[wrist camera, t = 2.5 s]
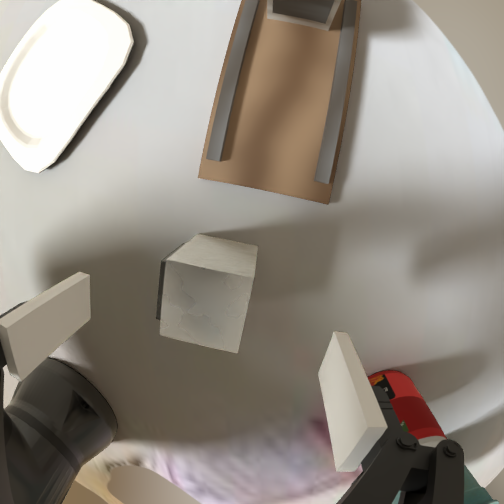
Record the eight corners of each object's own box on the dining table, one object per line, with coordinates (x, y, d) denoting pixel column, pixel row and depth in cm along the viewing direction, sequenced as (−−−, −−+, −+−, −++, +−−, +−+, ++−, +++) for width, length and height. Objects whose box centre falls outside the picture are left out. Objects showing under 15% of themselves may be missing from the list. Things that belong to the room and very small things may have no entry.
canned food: (371, 360, 26) (410, 439, 15) (423, 375, 26) (466, 441, 16) (332, 412, 28) (351, 491, 17) (386, 422, 28) (412, 490, 18)
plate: (72, -9, 18) (65, -15, 16) (161, 42, 20) (155, 35, 18) (-12, 110, 21) (-21, 109, 20) (48, 193, 24) (38, 194, 22)
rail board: (201, 177, 23) (161, 177, 14) (251, -20, 18) (244, -83, 9) (325, 203, 23) (361, 218, 14) (358, 2, 18) (389, -53, 9)
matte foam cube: (258, 246, 24) (254, 278, 16) (246, 302, 25) (237, 353, 17) (190, 232, 24) (156, 257, 16) (183, 288, 25) (150, 332, 17)
